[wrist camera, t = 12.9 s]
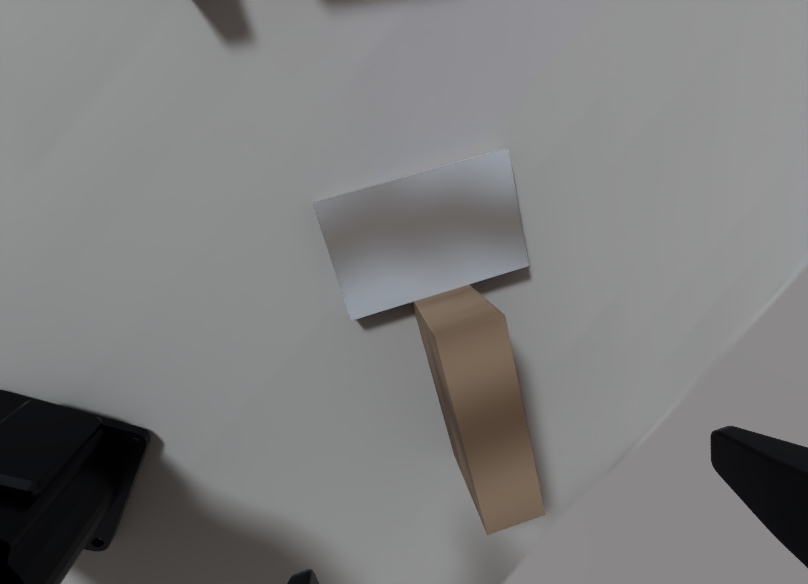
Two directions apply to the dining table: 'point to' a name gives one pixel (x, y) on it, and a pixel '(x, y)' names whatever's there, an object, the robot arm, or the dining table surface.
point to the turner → (449, 308)
